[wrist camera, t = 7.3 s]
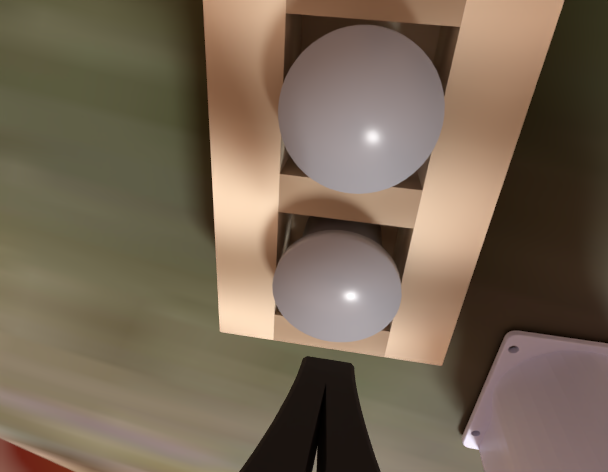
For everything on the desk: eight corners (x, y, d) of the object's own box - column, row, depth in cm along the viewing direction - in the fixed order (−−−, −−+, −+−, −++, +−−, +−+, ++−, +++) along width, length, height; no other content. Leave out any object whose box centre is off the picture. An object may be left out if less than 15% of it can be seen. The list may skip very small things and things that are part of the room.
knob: (385, 283, 20) (389, 350, 16) (289, 270, 20) (270, 332, 16) (403, 194, 17) (413, 247, 14) (295, 181, 18) (273, 229, 14)
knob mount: (430, 307, 21) (441, 366, 18) (243, 281, 22) (219, 331, 19) (607, -314, 11) (722, -470, 7) (236, -316, 11) (179, -454, 8)
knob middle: (411, 156, 17) (424, 202, 13) (297, 144, 17) (275, 184, 13) (438, 26, 14) (464, 32, 10) (304, 15, 15) (281, 18, 11)
